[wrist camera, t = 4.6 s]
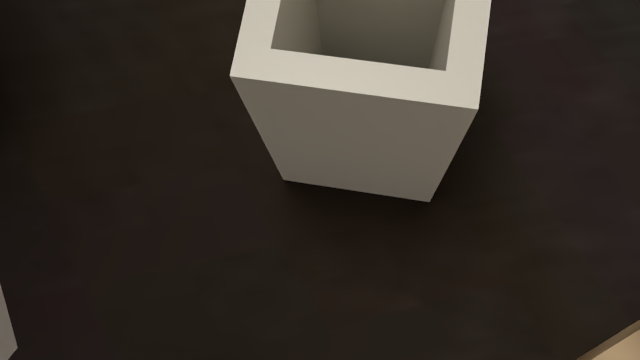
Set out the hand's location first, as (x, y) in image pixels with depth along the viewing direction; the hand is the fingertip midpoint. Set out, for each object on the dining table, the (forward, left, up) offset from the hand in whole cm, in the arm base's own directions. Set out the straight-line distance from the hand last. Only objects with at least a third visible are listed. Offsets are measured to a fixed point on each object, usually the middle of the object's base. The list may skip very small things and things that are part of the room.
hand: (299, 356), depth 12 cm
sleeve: (+7, +8, -15) cm, 18 cm away
